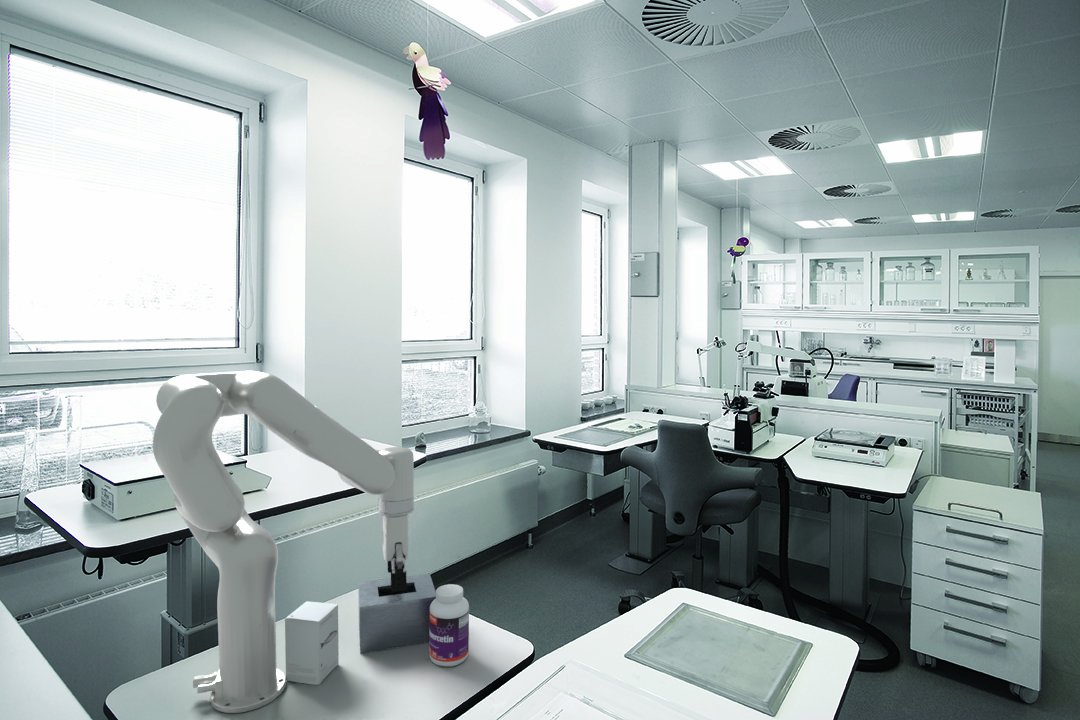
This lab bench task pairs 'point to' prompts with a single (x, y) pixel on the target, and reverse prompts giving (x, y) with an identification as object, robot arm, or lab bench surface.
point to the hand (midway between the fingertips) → (396, 580)
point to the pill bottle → (449, 626)
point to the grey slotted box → (394, 613)
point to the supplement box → (311, 642)
